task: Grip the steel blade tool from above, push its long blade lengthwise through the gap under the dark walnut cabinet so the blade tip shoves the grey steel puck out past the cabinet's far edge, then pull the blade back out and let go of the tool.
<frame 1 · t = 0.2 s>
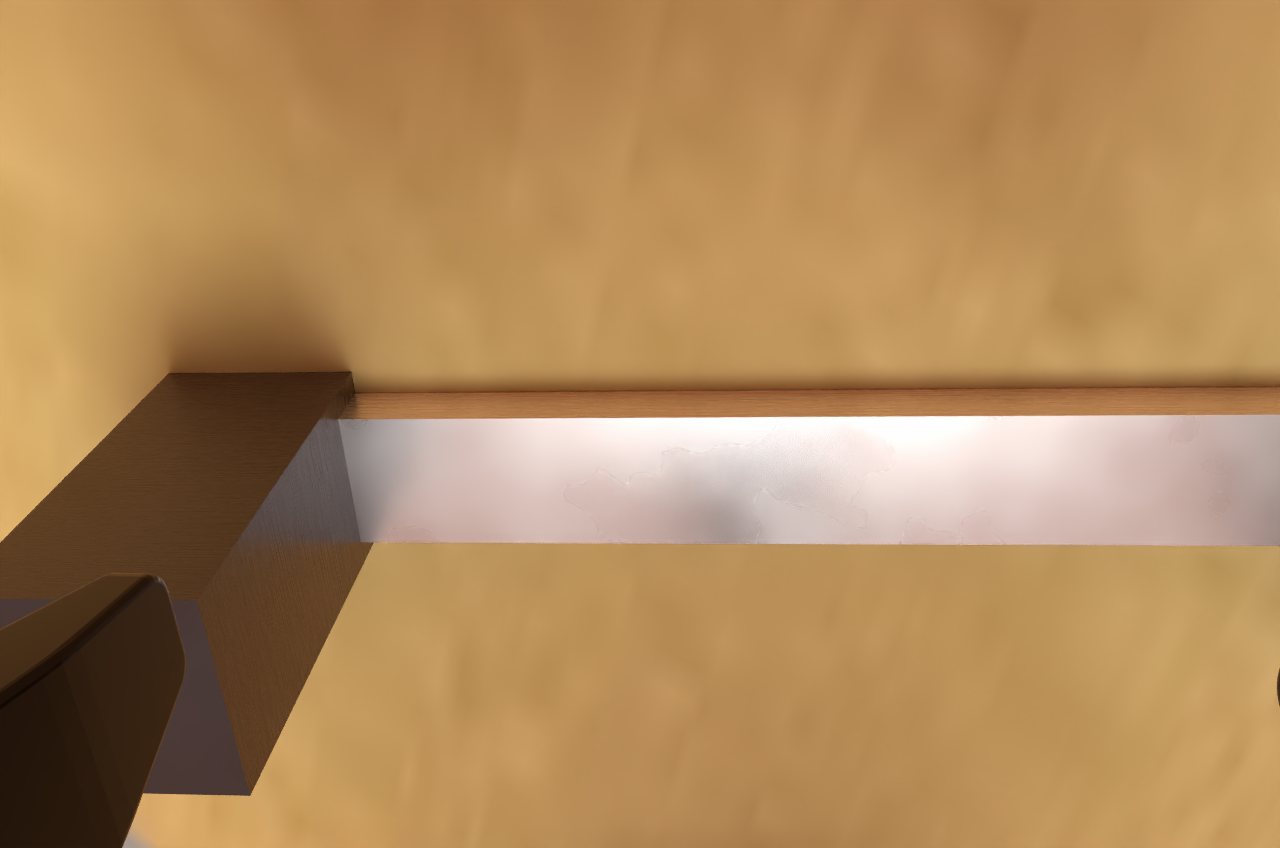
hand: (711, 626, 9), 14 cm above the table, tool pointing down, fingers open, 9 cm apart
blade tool: (277, 454, 26), on the table
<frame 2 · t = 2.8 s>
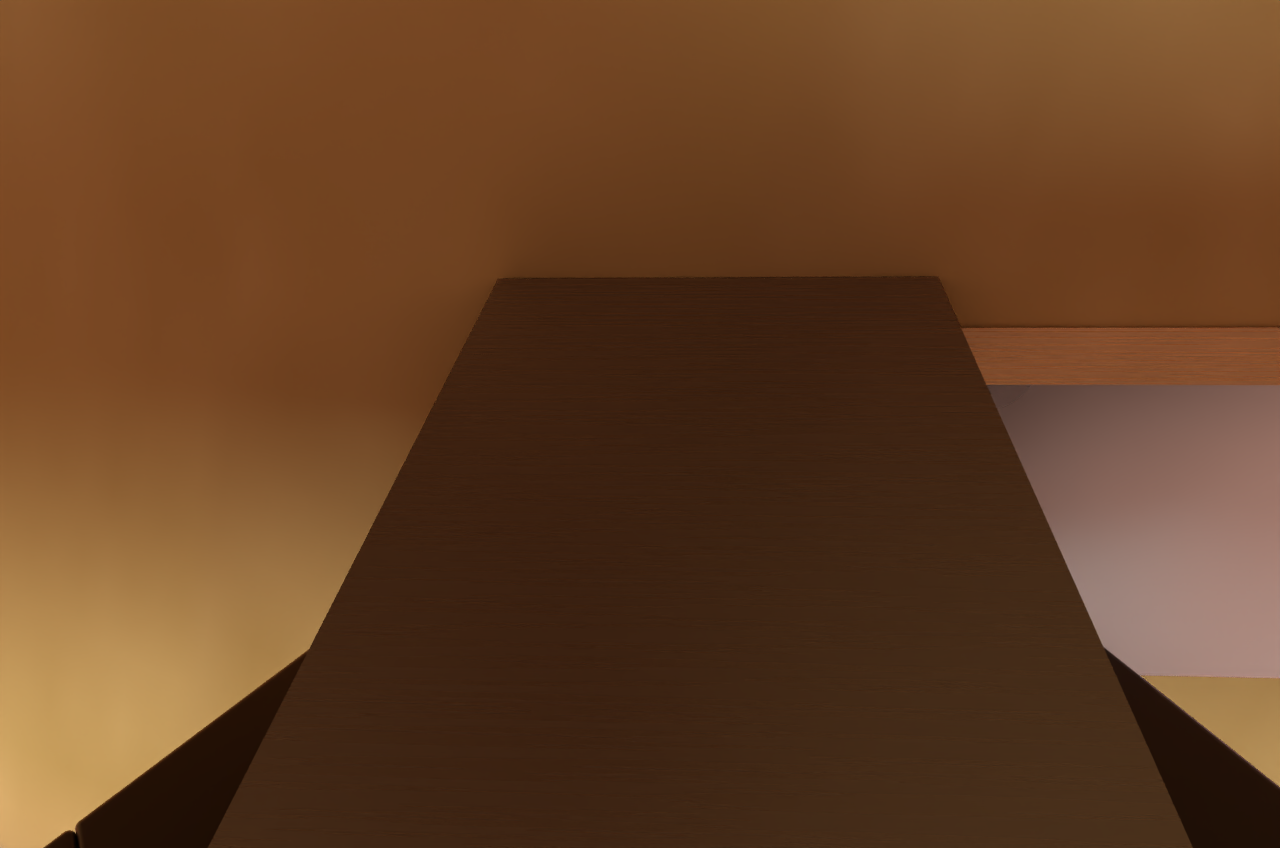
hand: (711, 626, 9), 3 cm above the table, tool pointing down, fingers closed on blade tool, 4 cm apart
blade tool: (715, 468, 11), on the table, touching gripper
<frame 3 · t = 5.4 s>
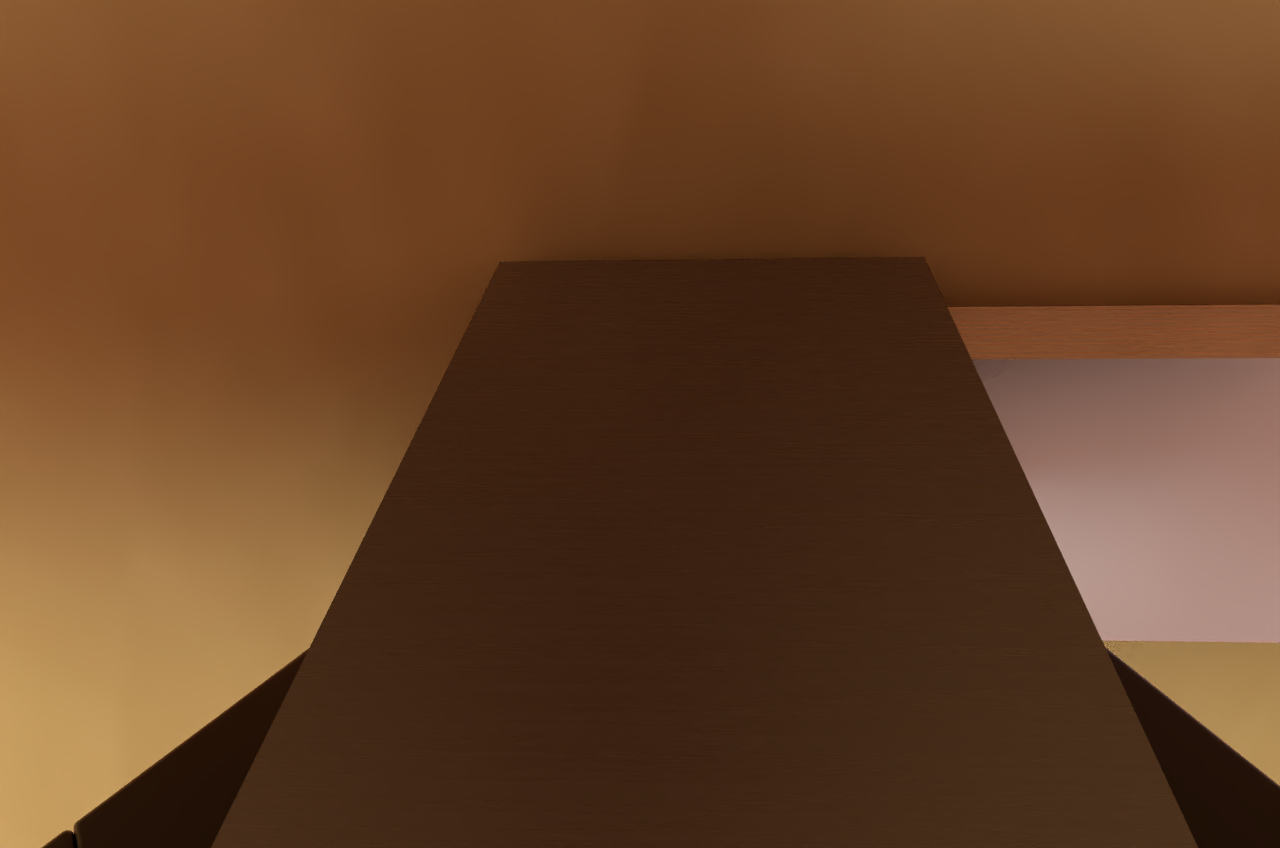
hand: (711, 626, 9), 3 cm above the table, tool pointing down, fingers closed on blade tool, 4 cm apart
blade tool: (710, 445, 12), on the table, touching gripper, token
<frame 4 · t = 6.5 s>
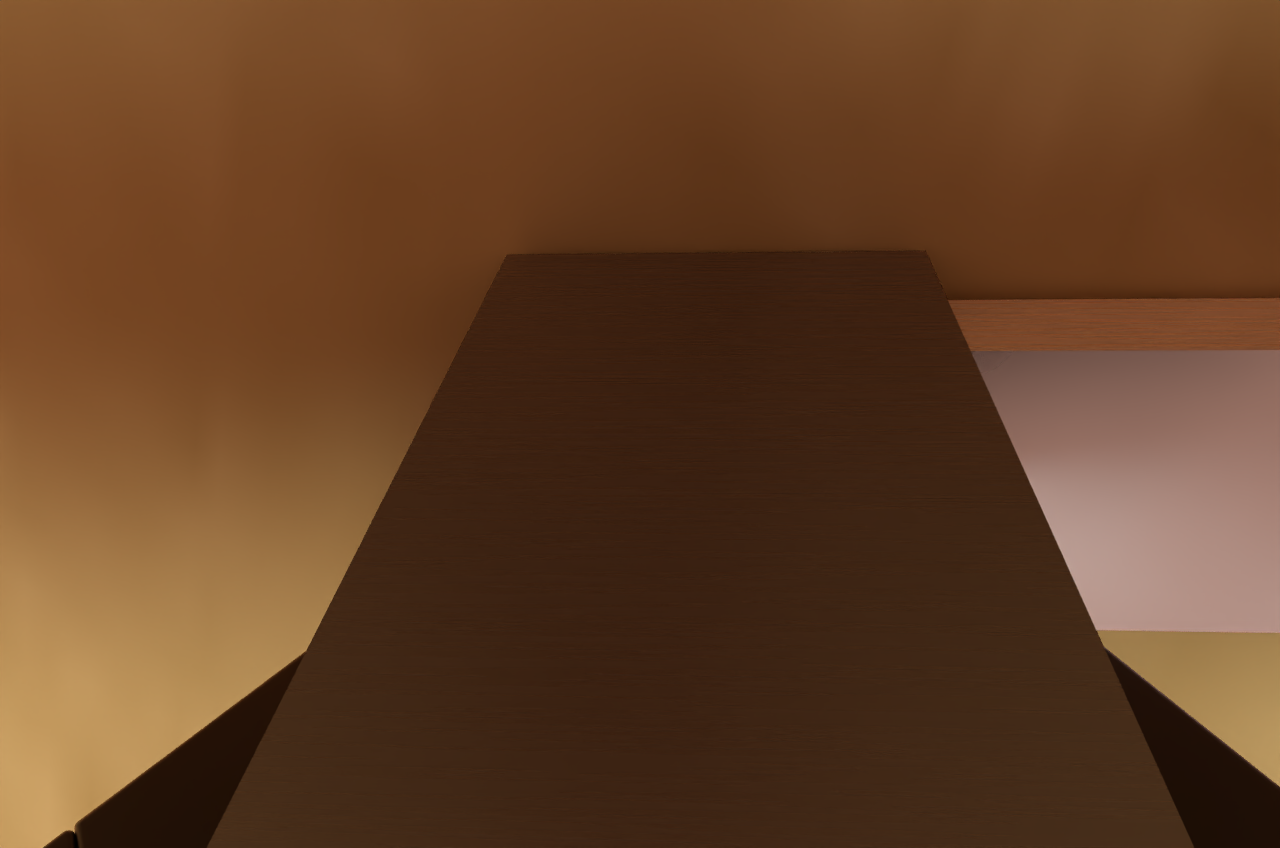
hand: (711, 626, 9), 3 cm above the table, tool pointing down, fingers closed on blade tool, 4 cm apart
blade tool: (714, 436, 12), on the table, touching gripper, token
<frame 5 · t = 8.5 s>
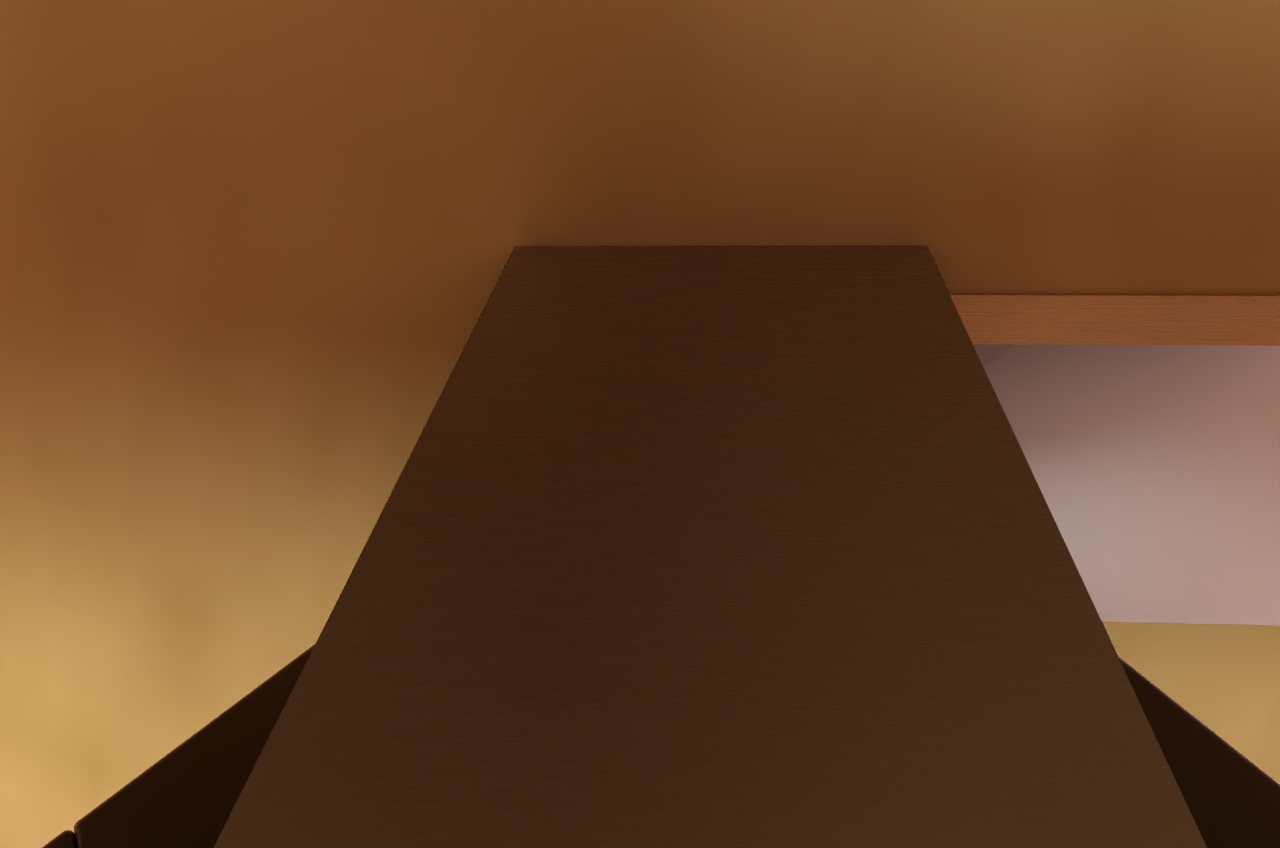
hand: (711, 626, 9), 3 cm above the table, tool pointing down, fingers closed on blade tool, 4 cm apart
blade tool: (717, 428, 12), on the table, touching gripper
when the fingers open (3 cm above the table, at t = 9.0 s): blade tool stays where it is, on the table.
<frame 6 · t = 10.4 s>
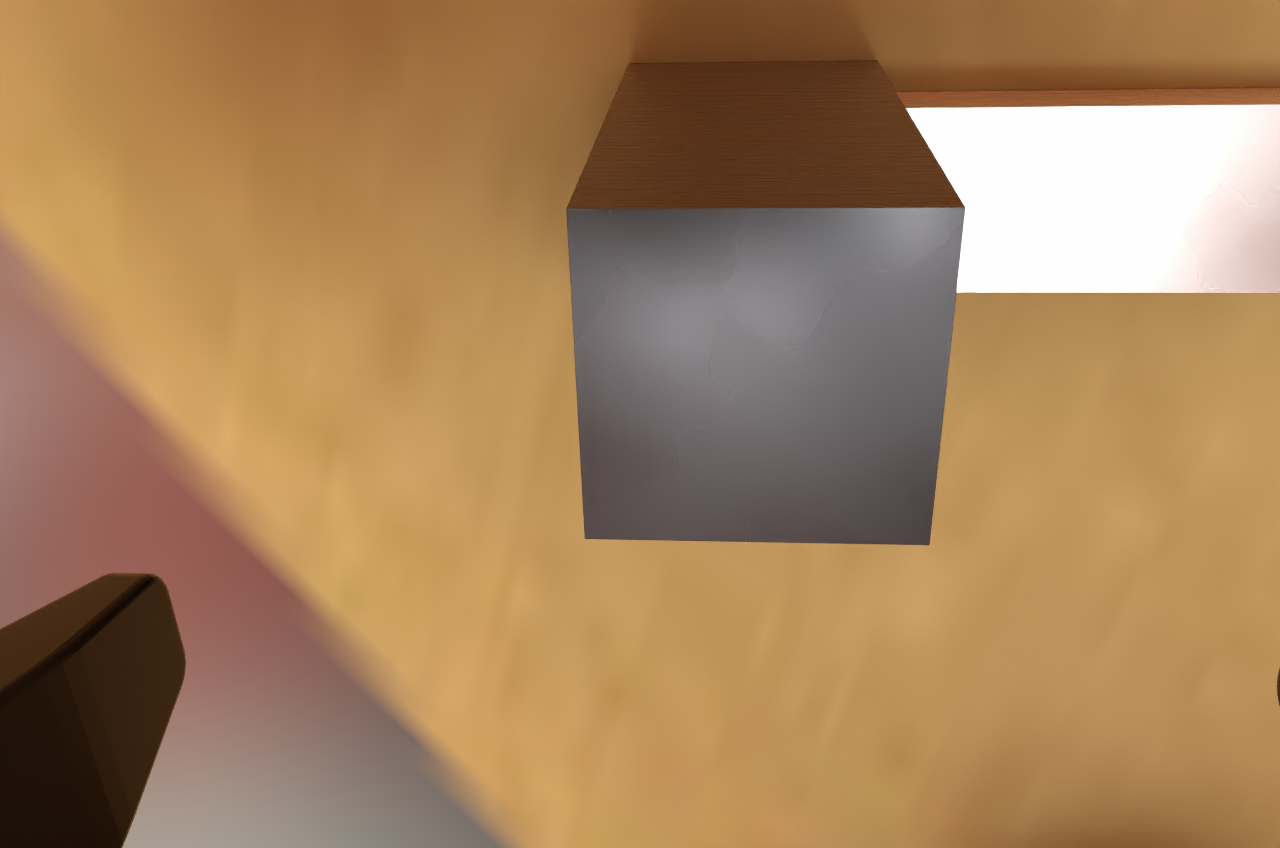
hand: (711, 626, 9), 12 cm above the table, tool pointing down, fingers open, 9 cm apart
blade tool: (749, 183, 20), on the table
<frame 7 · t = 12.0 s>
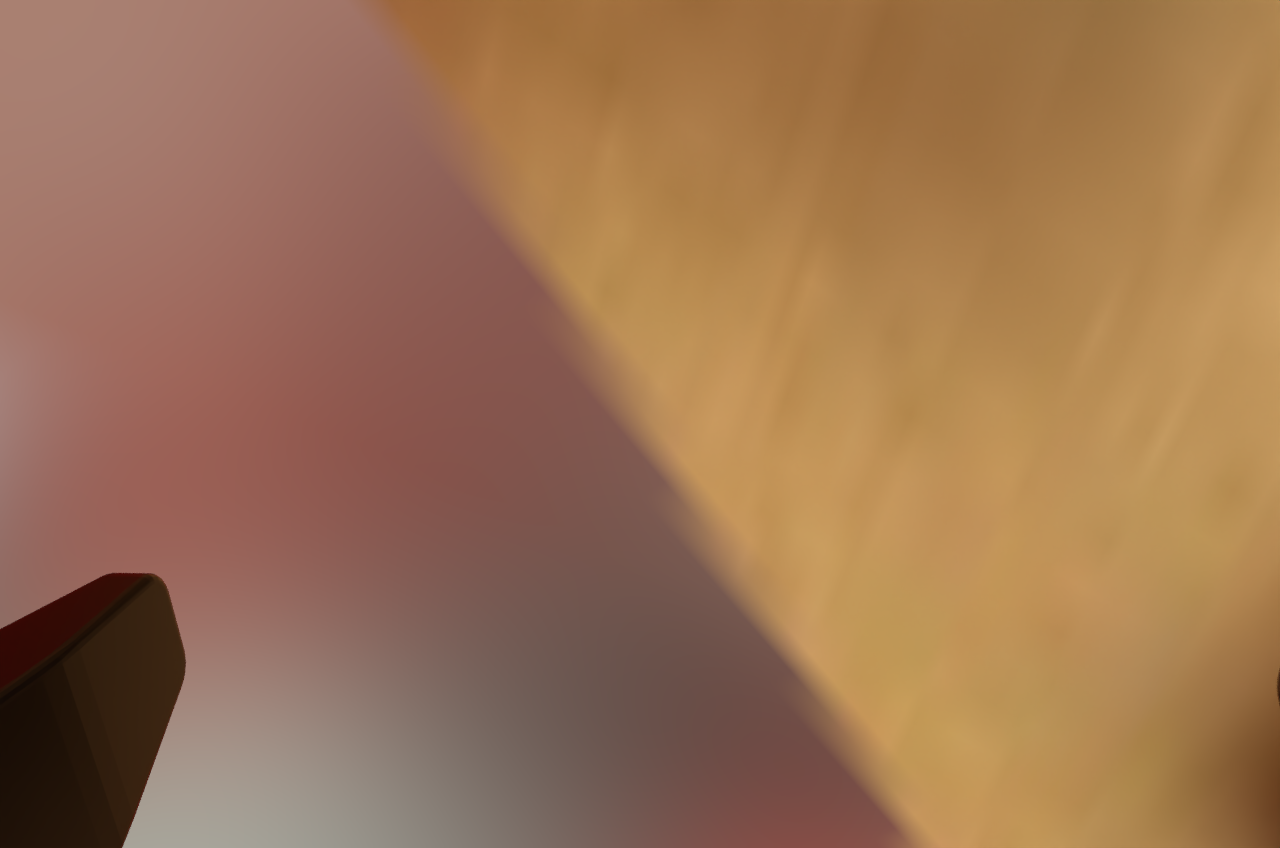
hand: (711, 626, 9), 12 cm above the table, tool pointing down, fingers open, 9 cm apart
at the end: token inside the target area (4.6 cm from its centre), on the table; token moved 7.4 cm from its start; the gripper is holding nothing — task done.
